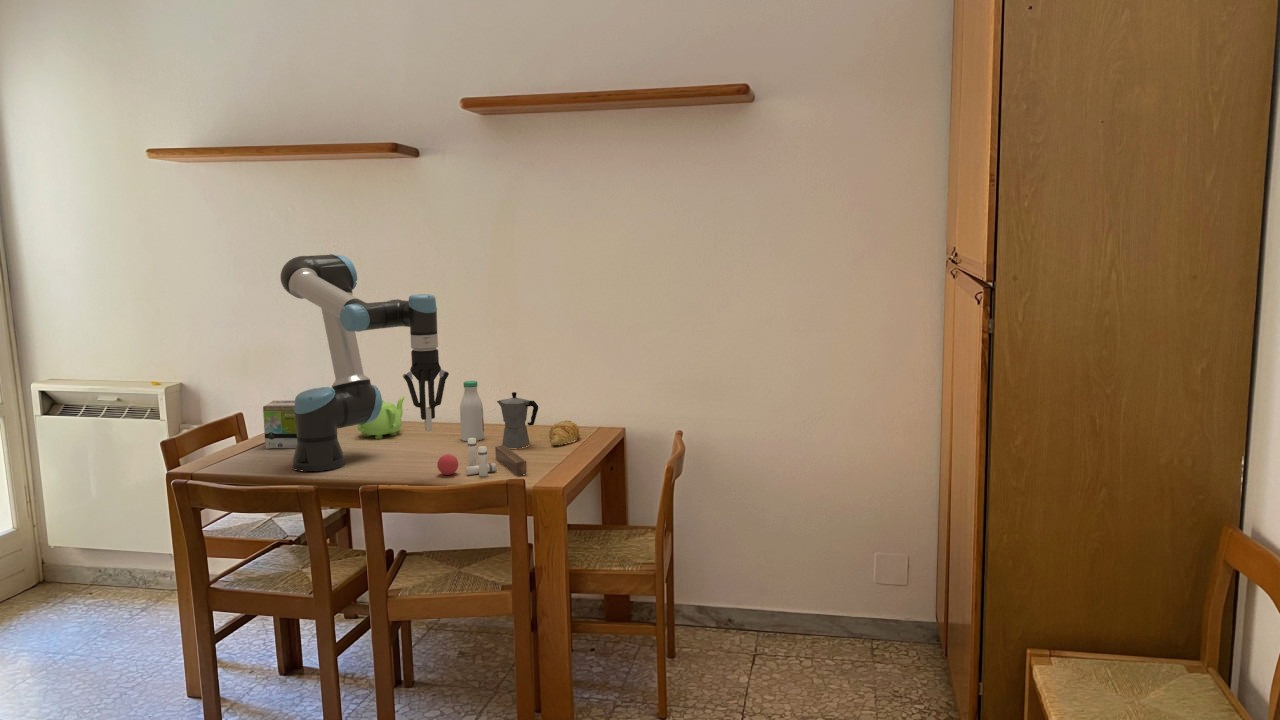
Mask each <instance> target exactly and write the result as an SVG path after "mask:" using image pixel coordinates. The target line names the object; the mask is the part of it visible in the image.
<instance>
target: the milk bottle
mask: <svg viewBox="0 0 1280 720" xmlns="http://www.w3.org/2000/svg"><path fill="white" fill-rule="evenodd" d="M463 390H464V391H463V396H462V398H461V401H460V405H459V410H460V411H459V420H460V421H459V423H460V438H461V440H462V441H463V442H468V438H476V442H479V440H480V441H482V439H483V440H484V439H485V426H484V424H485V422H484V421H485V420H484V407H483V401H482V399H481V397H480V395H479V392H478V381H477V380H465V381H463Z"/></svg>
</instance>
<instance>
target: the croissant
mask: <svg viewBox="0 0 1280 720" xmlns="http://www.w3.org/2000/svg"><path fill="white" fill-rule="evenodd" d="M548 433H549V434H548V435H549V436H548V437H549V440H550V439H551V440H550V442H551V445H552V446H553V445H559V444H565V443H568V442H571V441H574V440H576V441H577V440H578V439H577V438H579V435H580V429H579V426H578V425H577V424H576V423H575V422H573V421H571V420H562V421H559V422H557V423H555V424H553V425H552V426H551V427H550V429H549V431H548ZM565 445H566V444H565ZM559 446H560V445H559Z"/></svg>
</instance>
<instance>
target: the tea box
mask: <svg viewBox="0 0 1280 720" xmlns="http://www.w3.org/2000/svg"><path fill="white" fill-rule="evenodd" d="M294 408H295V400H272V401H271V402H269V403H267V404H266V405H263V406H262V412H263V413H262V414H263V429H264V431H263V432H264V443H265V449H267V450H268V449H296V446H297V432H296V418H295V411H294Z"/></svg>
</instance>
